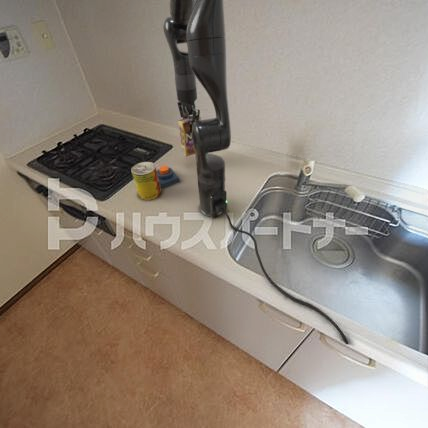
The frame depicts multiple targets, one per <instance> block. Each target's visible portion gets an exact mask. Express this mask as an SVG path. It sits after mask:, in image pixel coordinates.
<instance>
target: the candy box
mask: <svg viewBox="0 0 428 428" xmlns="http://www.w3.org/2000/svg"><path fill="white" fill-rule="evenodd" d="M191 120H192V119H191ZM199 120H202V117H201V116H199ZM177 122H178V131H179V140H180V148H181V154H182V155H183V156H184V157H185V158H188V157H190V156H193V155H195V149H194V143H193V136H192V133H191V130H190V122H189V119H188V118H185V119H183V118H182V119H178V120H177Z"/></svg>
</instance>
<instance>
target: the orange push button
mask: <svg viewBox="0 0 428 428" xmlns="http://www.w3.org/2000/svg"><path fill="white" fill-rule="evenodd" d="M156 171H157V175H158V179H159V183H160V188H161V189H165V188H167V187H170V186H172V185H174V184H177V183H180V177H179V176H178V174H176V173H175V172H174V170H173V169H172V167H169V173H168V174H166V175H161V174H160V171H159V168H158V169H156Z"/></svg>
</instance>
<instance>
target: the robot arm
mask: <svg viewBox="0 0 428 428" xmlns="http://www.w3.org/2000/svg"><path fill="white" fill-rule="evenodd" d="M169 15H170V16H168V17H166V18H165V19H164V21H163V24H162V25H163V26H162V27H163V33H164V34H163V35H164V37H165V39H166V42H167V44H168V47H169V50H170V53H171V57H172V63H173V69H174V83H175V91H176V99H177V106H178V107H177V108H178V111H179V115H180V118H182V119H185V118H188V119H189V122H190V130H191V133H192V136H193V143H194V149H195V154H194V157H195V167H196V176H197V189H198V199H199V211H200V212H201V214H203V215H204V216H208V217H210V218H212V219H214V218H216V217H218V216H220V215H222V214H224V215H225V217H226V218H227V220H228V224H229V226H230V227H231V228H232V230H234V231H236V232H239V233H241V234H244V235H247V236H249V237H250V239H252V241H253V245H254V251H255V255H256V258H257V260H258V263H259V267H260V269H261V271H262V273H263V275H264V276H265V278H266V279H267V280H268V281H269V283H270V284H271V285H272V287H274V288H275V289H276V290H278V291H279V292H280V293H281V294H283V295H284V296H285V297H287V298H288V299H290V300H292V301H294V302H296V303H298V304H301V305H304V306H306V307H309V308H311V309H313V310H314V311H315V312H317V313H319V315H321V316H322V317H324V318H325V319H326V320H327V321H328V322H329V323H330V324H331V325H332V326H333V327H334V328H335V330H337V332H338V333H339V334H340V337H341V338H342V340H343V342H344V344H345V345H349V341H348V339H347V337H346V335H345V333H344V332H343V330H342V329H341V328H340V327H339V326H338V324H337V323H336V322H335V321H334V320H333V319H332V318H331V317H329V316H328V315H327V314H326V313H325V312H324V311H322V310H321V309H319V308H318V307H317V306H315V305H313V304H311V303H309V302H307V301H305V300H301V299H300V298H296V297H294V296H292V295H291V294H289V293H288V292H286V291H285V290H284V289H282V287H279V286H278V285H277V284H276V283H275V282H274V280H273V279H272V278H271V277H270V276H269V275H268V272H267V271H266V270H265V266H264V265H263V262H262V260H261V256H260V253H259V250H258V244H257V241H256V238H255V237H254V235H252V234H251V233H250V232H248V231H245V230H242V229H239V228H236V227H235V226H234V225H233V223H232V219H231V217H230V216H229V215H228V213H227V210H228V200H227V190H226V162H225V159H224V158H223V157H222V156H220V155H217V154H213V153H215V152H220V151H225V150H228V149H229V148H230V146H231V143H232V129H231V119H230V110H229V109H230V108H229V99H228V83H227V81H228V80H227V79H228V78H227V41H226V25H225V8H224V0H169ZM181 44H186V46H187V50H180V49H179V47H178V45H181ZM197 80H198V82H199V83H200V85H201V86H202V87H203V89H204V91H205V92H206V94H207V95H208V96H209V98H210V100H211V102H212V105H213V107H214V111H215V117H213V118H207V119H201V120H199V117H201V116H200V114H201V111H200V109H197V107H196V103H195V102H196V101H197V99H198V92H197V91H198V90H197V89H198V88H197ZM191 119H192V120H191Z"/></svg>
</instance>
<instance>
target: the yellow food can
mask: <svg viewBox="0 0 428 428" xmlns="http://www.w3.org/2000/svg"><path fill="white" fill-rule="evenodd" d="M130 170H131V171H130V172H131V174H132V178H133V180H134V184H135V187H136V190H137V193H138V196H139V198H140V199H142V200H144V201H151V200H155V199H157V198H159V196H160V195H161V194H162V187H161V186H160V183H159V179H158V175H157V167H156V164H155V163H154V162H152V161H148V160H147V161H145V160H143V161H140V162H137V163H135V164H134V165H133V166H132V167H131V168H130Z"/></svg>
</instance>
